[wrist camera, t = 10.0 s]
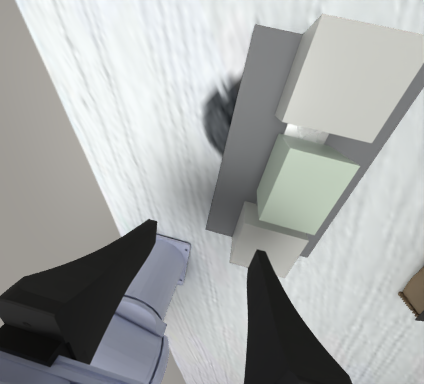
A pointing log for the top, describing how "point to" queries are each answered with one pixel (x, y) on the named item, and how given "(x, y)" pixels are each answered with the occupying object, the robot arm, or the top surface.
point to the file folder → (415, 295)
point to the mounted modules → (333, 108)
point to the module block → (302, 183)
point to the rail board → (281, 132)
